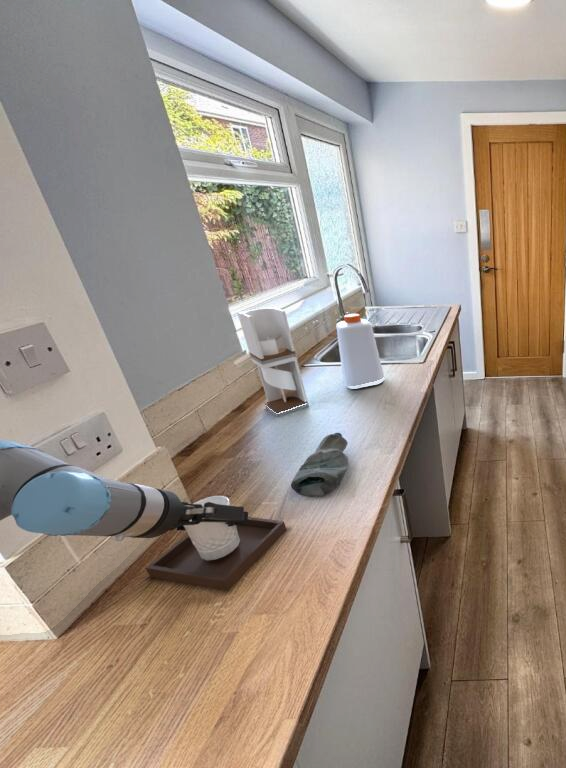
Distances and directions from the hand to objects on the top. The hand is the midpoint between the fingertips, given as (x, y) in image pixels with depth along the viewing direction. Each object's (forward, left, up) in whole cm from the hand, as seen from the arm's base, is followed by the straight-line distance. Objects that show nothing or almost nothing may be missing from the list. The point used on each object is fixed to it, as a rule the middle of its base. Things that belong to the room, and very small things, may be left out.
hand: (223, 521), depth 84 cm
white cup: (+1, -3, -4) cm, 5 cm away
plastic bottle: (-18, +85, -5) cm, 87 cm away
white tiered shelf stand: (-34, +60, -5) cm, 69 cm away
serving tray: (+1, -3, -5) cm, 6 cm away
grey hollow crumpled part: (+6, +26, -5) cm, 27 cm away
